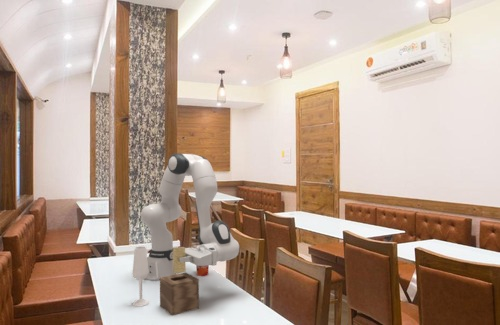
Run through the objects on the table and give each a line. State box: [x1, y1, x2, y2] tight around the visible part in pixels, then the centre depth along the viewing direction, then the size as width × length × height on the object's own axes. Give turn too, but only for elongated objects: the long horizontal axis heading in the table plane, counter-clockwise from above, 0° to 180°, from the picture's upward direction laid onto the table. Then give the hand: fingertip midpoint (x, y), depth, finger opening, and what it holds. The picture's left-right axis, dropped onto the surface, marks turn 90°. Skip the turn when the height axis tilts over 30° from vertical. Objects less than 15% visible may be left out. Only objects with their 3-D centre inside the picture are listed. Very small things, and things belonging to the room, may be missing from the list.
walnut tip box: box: [159, 272, 200, 316], centre depth 157 cm, size 12×12×12 cm
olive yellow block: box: [173, 246, 187, 274], centre depth 157 cm, size 4×2×10 cm, turn 126°
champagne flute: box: [132, 245, 150, 307], centre depth 162 cm, size 7×7×24 cm
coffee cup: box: [195, 245, 210, 277], centre depth 203 cm, size 8×8×15 cm
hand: (177, 259), depth 157 cm, fingers closed on olive yellow block, 2 cm apart
